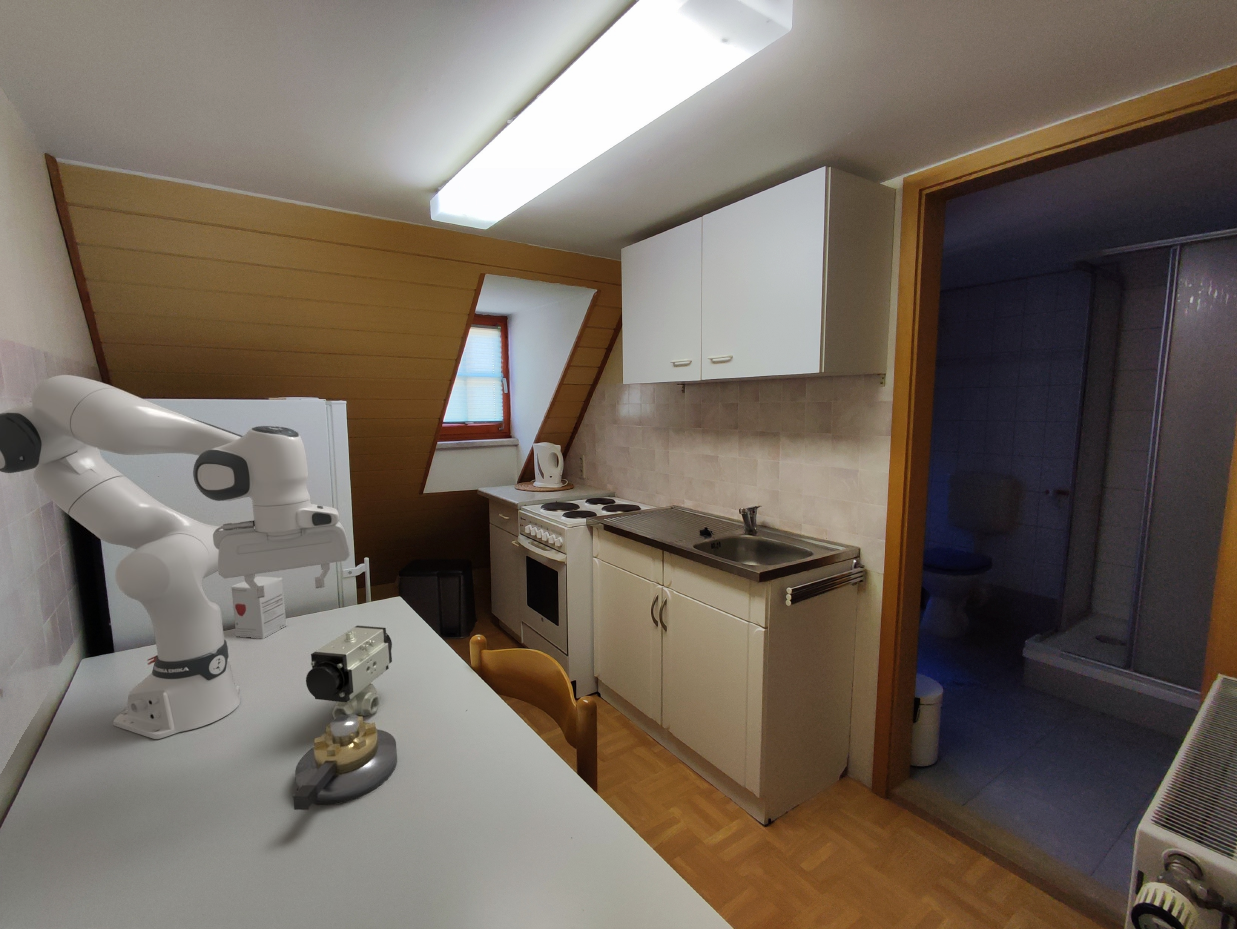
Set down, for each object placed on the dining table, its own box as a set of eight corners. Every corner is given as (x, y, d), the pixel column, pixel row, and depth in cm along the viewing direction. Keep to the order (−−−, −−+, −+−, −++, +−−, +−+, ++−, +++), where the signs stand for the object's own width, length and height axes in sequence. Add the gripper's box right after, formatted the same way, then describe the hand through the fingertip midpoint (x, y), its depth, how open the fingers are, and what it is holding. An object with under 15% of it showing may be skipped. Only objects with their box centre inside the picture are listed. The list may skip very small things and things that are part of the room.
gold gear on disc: (273, 799, 91) (268, 745, 90) (338, 739, 106) (334, 693, 105) (361, 810, 88) (356, 754, 87) (414, 747, 104) (411, 699, 102)
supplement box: (234, 637, 154) (229, 586, 152) (260, 624, 162) (255, 575, 160) (263, 639, 152) (258, 587, 150) (287, 626, 161) (283, 576, 159)
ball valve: (347, 741, 106) (340, 654, 104) (309, 736, 108) (301, 650, 106) (401, 691, 123) (396, 616, 121) (368, 688, 125) (362, 614, 123)
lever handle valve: (334, 736, 102) (332, 715, 101) (387, 736, 102) (386, 715, 101) (269, 811, 84) (266, 786, 83) (333, 812, 83) (331, 786, 83)
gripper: (209, 528, 90) (218, 609, 91) (347, 513, 100) (353, 586, 102) (214, 521, 95) (222, 598, 97) (345, 507, 105) (350, 577, 107)
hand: (290, 592), depth 99 cm, fingers open, 8 cm apart
